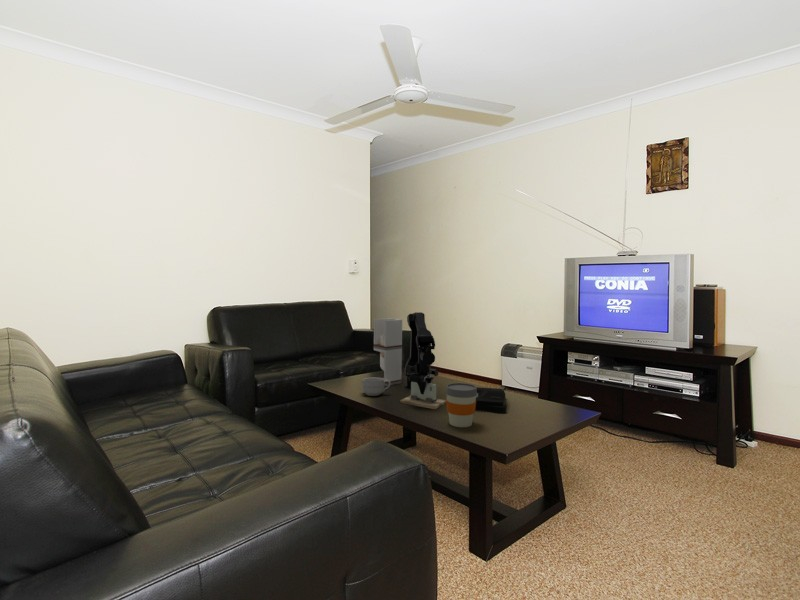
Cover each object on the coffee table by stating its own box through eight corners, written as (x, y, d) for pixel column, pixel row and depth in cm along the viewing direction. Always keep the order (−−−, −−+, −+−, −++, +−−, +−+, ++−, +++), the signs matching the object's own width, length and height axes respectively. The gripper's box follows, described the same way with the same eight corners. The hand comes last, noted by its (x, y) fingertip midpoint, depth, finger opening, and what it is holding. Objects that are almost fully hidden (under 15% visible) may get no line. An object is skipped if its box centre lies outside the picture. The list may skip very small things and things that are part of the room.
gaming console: (505, 415, 189) (506, 399, 188) (460, 411, 193) (460, 395, 193) (505, 398, 215) (505, 384, 214) (465, 395, 219) (465, 381, 219)
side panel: (413, 396, 214) (413, 390, 213) (446, 402, 204) (446, 396, 204) (400, 402, 203) (400, 395, 203) (435, 409, 194) (435, 402, 194)
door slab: (413, 395, 208) (413, 380, 208) (436, 399, 202) (436, 384, 201) (410, 396, 205) (410, 381, 205) (433, 400, 199) (433, 385, 199)
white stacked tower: (389, 379, 249) (390, 318, 247) (401, 382, 241) (402, 319, 239) (373, 382, 242) (373, 319, 240) (385, 386, 234) (385, 320, 232)
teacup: (359, 396, 213) (359, 380, 212) (366, 391, 223) (366, 375, 223) (386, 398, 209) (387, 382, 209) (392, 393, 220) (392, 377, 220)
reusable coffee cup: (477, 420, 180) (478, 384, 179) (474, 430, 168) (475, 391, 167) (447, 417, 184) (448, 381, 183) (442, 426, 171) (443, 389, 171)
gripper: (418, 355, 215) (418, 386, 216) (398, 361, 199) (398, 395, 200) (439, 358, 209) (438, 390, 210) (420, 364, 193) (419, 399, 194)
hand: (423, 393), depth 204 cm, fingers closed on door slab, 2 cm apart
